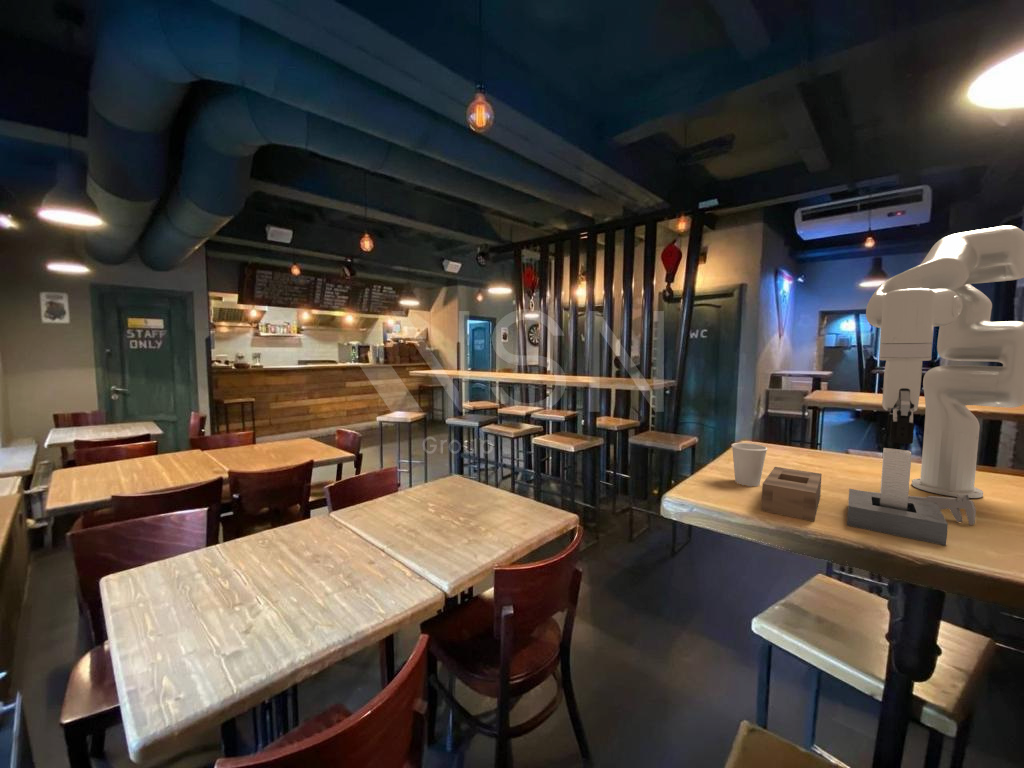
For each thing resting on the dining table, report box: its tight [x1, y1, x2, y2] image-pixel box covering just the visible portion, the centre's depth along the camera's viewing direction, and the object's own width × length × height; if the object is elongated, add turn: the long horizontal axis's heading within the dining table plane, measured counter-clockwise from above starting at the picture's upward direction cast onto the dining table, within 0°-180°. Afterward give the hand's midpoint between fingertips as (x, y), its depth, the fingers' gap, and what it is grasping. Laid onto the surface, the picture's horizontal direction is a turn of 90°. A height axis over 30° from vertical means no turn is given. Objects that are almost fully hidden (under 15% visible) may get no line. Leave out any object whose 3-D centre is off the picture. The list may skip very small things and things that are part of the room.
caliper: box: [872, 491, 977, 526], centre depth 94 cm, size 20×1×6 cm, turn 25°
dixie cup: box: [730, 442, 768, 487], centre depth 112 cm, size 8×8×10 cm
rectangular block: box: [879, 447, 912, 511], centre depth 85 cm, size 4×4×14 cm
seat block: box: [846, 488, 949, 546], centre depth 86 cm, size 14×14×4 cm
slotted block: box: [760, 466, 822, 522], centre depth 96 cm, size 18×10×6 cm, turn 141°
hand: (899, 437), depth 85 cm, fingers open, 9 cm apart
